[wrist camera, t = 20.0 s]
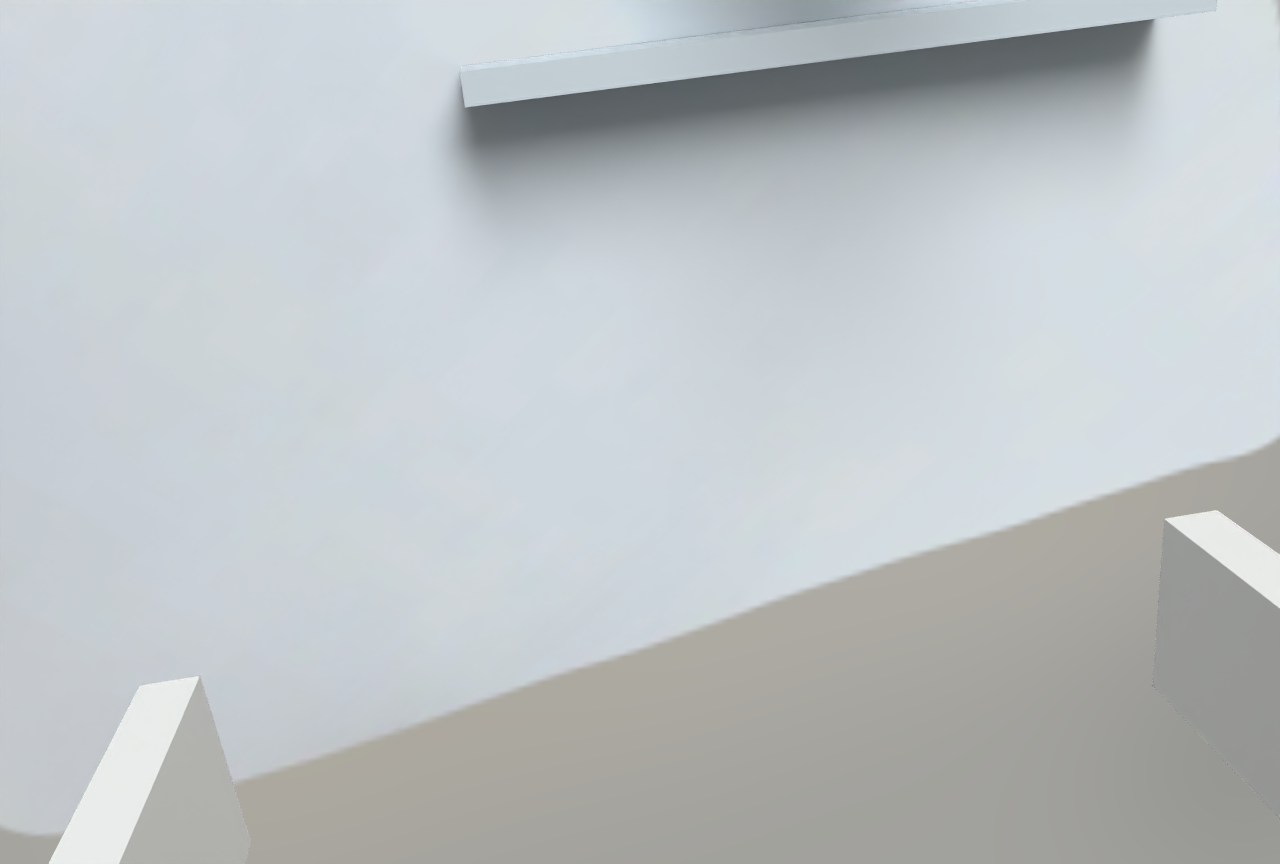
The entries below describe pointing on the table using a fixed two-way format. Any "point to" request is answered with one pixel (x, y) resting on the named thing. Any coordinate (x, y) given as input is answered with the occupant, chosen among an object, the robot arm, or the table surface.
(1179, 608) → the robot arm
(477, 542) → the table surface
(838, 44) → the acrylic wall
